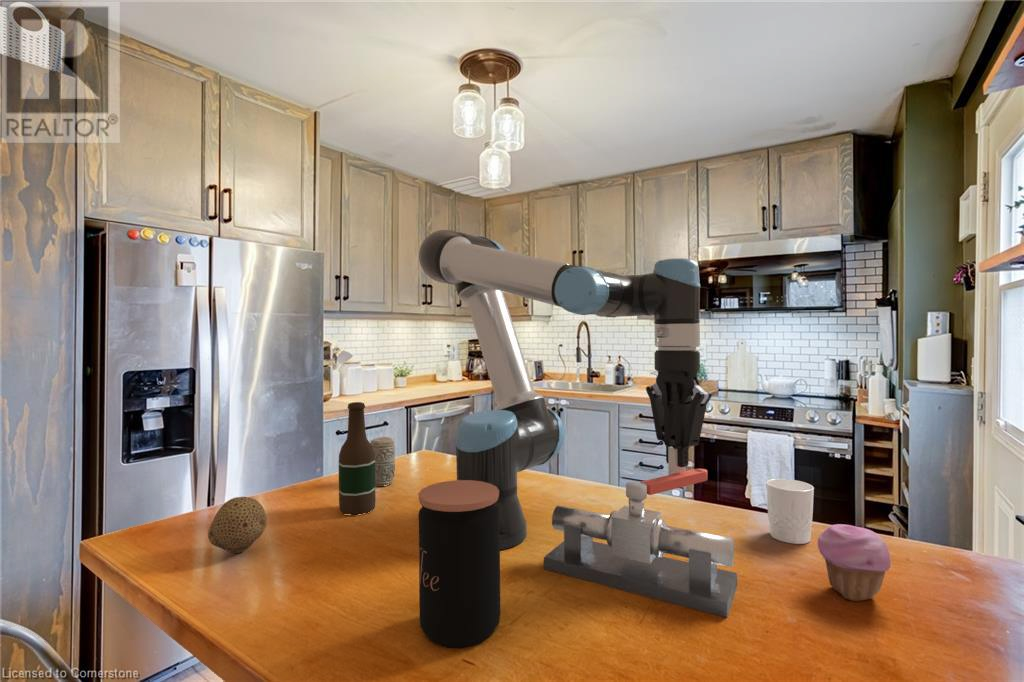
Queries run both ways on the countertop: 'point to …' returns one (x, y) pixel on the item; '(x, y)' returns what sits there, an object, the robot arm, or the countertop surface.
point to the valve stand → (645, 556)
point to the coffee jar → (459, 562)
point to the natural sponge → (237, 524)
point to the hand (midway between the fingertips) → (677, 483)
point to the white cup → (790, 510)
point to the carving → (384, 460)
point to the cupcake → (854, 560)
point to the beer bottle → (356, 466)
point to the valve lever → (664, 483)
